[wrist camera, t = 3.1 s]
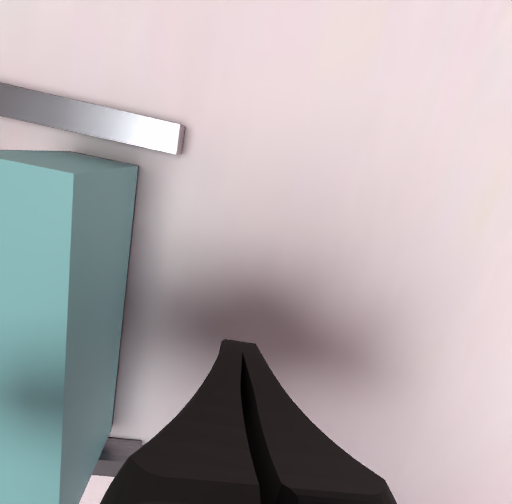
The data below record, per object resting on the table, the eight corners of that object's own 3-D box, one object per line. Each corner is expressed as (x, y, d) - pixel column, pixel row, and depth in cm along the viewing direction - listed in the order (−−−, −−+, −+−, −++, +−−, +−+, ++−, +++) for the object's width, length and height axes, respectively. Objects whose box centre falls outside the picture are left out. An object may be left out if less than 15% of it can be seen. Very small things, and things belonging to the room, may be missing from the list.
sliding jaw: (138, 165, 12) (73, 173, 7) (111, 430, 15) (56, 553, 11) (55, 148, 11) (-74, 143, 7) (47, 423, 15) (-39, 547, 10)
